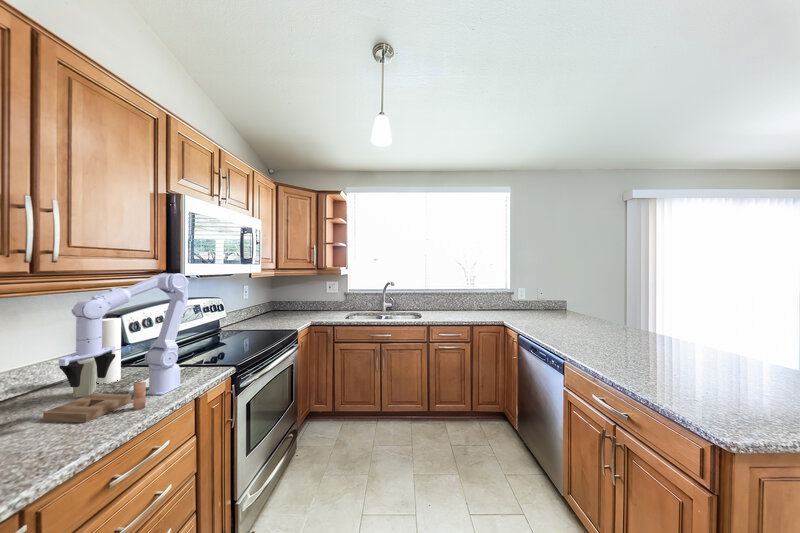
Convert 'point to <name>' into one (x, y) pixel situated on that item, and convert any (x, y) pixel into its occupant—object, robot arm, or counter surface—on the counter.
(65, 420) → the walnut socket plate
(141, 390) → the terracotta peg
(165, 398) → the counter surface
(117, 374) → the cylindrical container
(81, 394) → the skincare box
